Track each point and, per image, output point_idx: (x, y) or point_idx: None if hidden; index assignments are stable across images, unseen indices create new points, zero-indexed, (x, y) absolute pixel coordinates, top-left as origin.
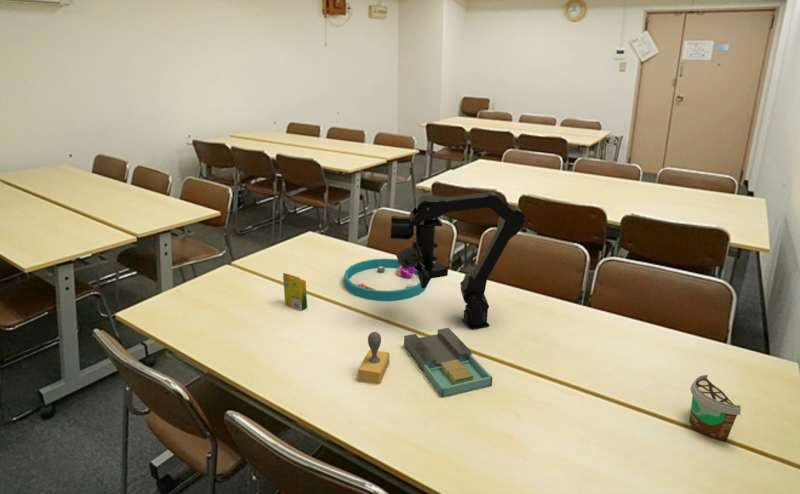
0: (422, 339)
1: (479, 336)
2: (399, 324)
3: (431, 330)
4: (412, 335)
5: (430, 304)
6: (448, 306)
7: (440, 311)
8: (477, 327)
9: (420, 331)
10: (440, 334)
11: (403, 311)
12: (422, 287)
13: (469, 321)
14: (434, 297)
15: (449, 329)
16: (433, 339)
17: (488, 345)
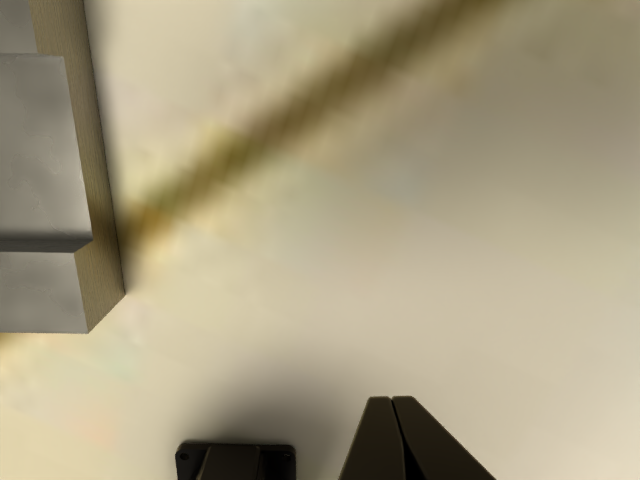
0: (36, 104)
1: (105, 446)
2: (399, 66)
3: (242, 244)
4: (12, 12)
5: (555, 375)
6: (478, 451)
7: (444, 389)
8: (178, 478)
9: (252, 172)
10: (33, 247)
11: (563, 175)
12: (366, 405)
13: (199, 474)
14: (623, 431)
15: (59, 327)
16: (24, 182)
17: (8, 444)
